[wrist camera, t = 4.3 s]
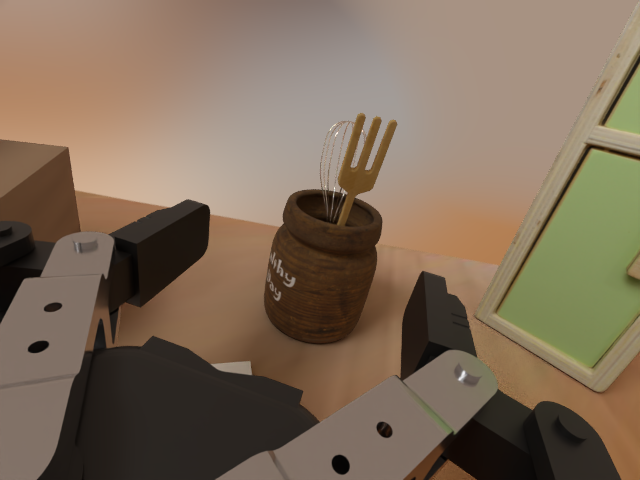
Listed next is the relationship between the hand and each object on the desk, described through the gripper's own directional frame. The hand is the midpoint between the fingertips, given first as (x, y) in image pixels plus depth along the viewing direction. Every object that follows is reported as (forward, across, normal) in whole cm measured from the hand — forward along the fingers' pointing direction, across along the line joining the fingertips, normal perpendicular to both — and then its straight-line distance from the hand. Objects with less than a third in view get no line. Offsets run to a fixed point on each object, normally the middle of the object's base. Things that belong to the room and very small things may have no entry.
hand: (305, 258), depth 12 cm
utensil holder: (+6, 0, +7) cm, 9 cm away
